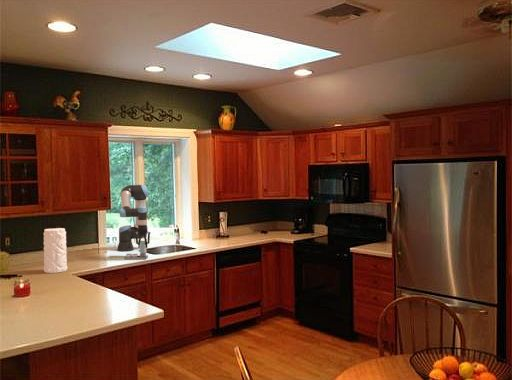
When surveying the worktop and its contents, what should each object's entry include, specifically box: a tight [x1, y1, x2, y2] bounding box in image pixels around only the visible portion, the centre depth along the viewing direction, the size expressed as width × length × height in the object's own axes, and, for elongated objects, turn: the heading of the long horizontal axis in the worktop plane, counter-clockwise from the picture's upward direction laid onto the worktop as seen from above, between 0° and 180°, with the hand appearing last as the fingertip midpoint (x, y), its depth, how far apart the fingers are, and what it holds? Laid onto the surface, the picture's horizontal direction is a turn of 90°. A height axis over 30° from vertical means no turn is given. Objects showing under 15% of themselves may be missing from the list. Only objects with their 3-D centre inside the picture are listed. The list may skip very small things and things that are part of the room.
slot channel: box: [123, 254, 149, 261], centre depth 381 cm, size 9×18×3 cm, turn 91°
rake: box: [139, 240, 147, 257], centre depth 381 cm, size 5×4×14 cm
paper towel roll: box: [42, 227, 68, 274], centre depth 340 cm, size 17×16×32 cm
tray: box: [104, 255, 126, 261], centre depth 381 cm, size 11×16×3 cm
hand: (142, 252), depth 381 cm, fingers closed on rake, 3 cm apart
